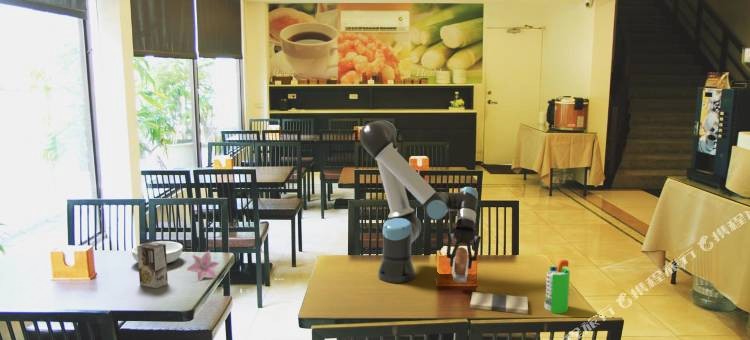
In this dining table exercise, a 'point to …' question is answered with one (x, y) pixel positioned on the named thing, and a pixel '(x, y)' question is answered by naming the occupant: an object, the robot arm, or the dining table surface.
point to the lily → (203, 266)
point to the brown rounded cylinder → (460, 265)
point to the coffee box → (152, 264)
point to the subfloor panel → (499, 302)
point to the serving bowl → (171, 250)
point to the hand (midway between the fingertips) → (459, 275)
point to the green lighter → (557, 288)
